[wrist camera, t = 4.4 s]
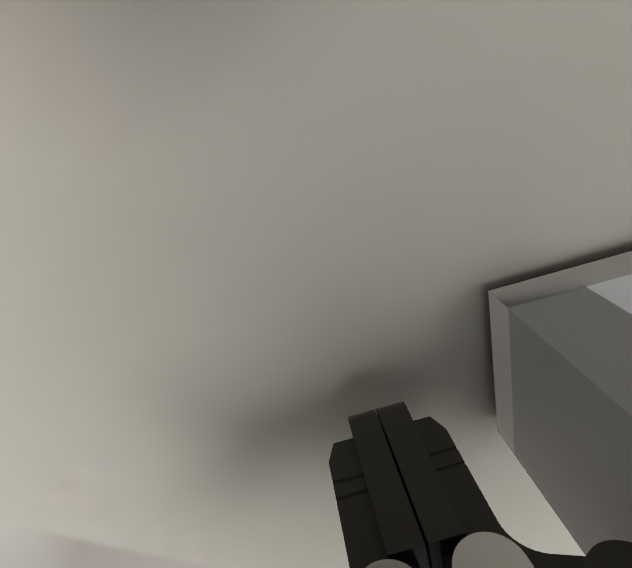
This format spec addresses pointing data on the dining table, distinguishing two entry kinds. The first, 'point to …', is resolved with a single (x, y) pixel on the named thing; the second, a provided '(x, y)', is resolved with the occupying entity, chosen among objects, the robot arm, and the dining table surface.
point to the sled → (570, 391)
